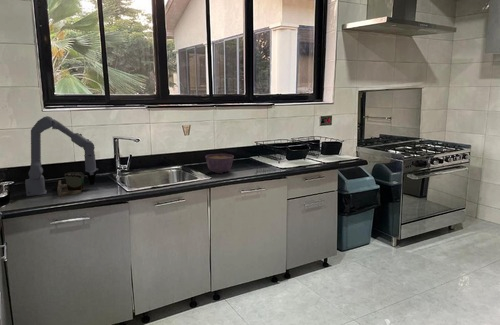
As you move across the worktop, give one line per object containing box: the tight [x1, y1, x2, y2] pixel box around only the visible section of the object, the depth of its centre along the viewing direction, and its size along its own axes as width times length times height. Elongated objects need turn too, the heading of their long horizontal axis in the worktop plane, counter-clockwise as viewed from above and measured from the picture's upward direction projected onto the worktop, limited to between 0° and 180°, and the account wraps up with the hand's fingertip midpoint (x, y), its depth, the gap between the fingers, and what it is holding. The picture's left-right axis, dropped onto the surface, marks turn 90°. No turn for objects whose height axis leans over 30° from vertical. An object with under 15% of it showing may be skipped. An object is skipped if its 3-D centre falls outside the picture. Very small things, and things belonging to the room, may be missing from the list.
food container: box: [63, 171, 85, 193], centre depth 218 cm, size 12×6×10 cm, turn 74°
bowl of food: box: [204, 153, 235, 174], centre depth 263 cm, size 20×20×12 cm
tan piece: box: [56, 179, 82, 198], centre depth 217 cm, size 12×24×4 cm, turn 25°
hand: (92, 184), depth 221 cm, fingers closed
